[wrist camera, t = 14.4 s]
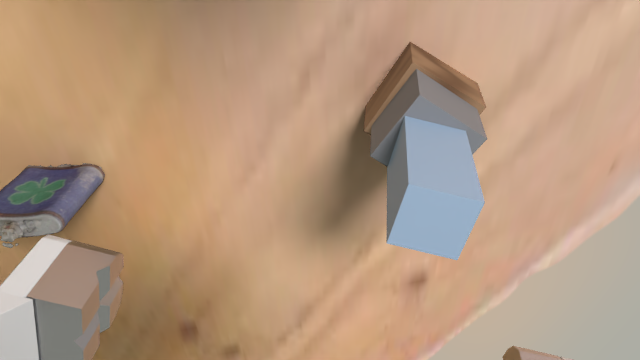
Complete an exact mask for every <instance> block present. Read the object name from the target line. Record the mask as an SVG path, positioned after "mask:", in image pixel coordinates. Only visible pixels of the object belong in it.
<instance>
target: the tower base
mask: <svg viewBox="0 0 640 360" xmlns="http://www.w3.org/2000/svg"><path fill="white" fill-rule="evenodd" d="M416 69H418V70H419V71H421V72H422V73H424V74H425V75H427V76H428V77H430V78H431V79H433V80H434V81H436V82H437V83H439V84H440V85H442V86H443V87H445V88H446V89H448V90H449V91H451V92H452V93H454V94H455V95H457V96H458V97H460V98H461V99H463V100H464V101H466V102H467V103H469V104H470V105H472V106H473V107H475V108H476V109H477V110H478V113H479V115H480V114H481V113H482V112H483V110H484V109H485V108H486V105H485V103H484V100H483V97H482V94H481V92H480V89H479V86H478V84H477V83H476V82H474V81H473V80H471V79H470V78H468V77H466V76H465V75H463V74H462V73H460V72H458V71H457V70H455V69H453V68H452V67H450V66H449V65H447V64H445V63H444V62H442V61H440V60H439V59H437V58H436V57H434V56H432V55H431V54H429V53H428V52H426V51H424V50H423V49H421V48H419V47H418V46H416V45H415V44H413V43H411V42H410V43H409V44H408V46H407V47H406V49H405V50H404V51H403V53H402V54H401V56H400V57H399V59H398V60H397V62H396V63H395V64H394V66H393V67H392V69H391V70H390V72H389V73H388V75H387V76H386V77H385V79H384V80H383V82H382V83H381V85H380V86H379V88H378V89H377V90H376V92H375V93H374V95H373V96H372V98H371V99H370V101H369V102H368V103H367V105H366V108H365V121H364V131H365V132H366V133H368V134H370V135H371V126H372V125H373V123H374V122H375V121H376V119H377V118H378V117H379V116H380V114H381V113H382V112H383V110H384V109H385V108H386V107H387V105H388V104H389V103H390V102H391V100H392V99H393V98H394V96H395V95H396V94H397V93H398V91H399V90H400V89H401V87H402V86H403V85H404V84H405V82H406V81H407V80H408V79H409V77H410V76H411V75H412V73H413V72H414V71H415V70H416Z"/></svg>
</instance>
